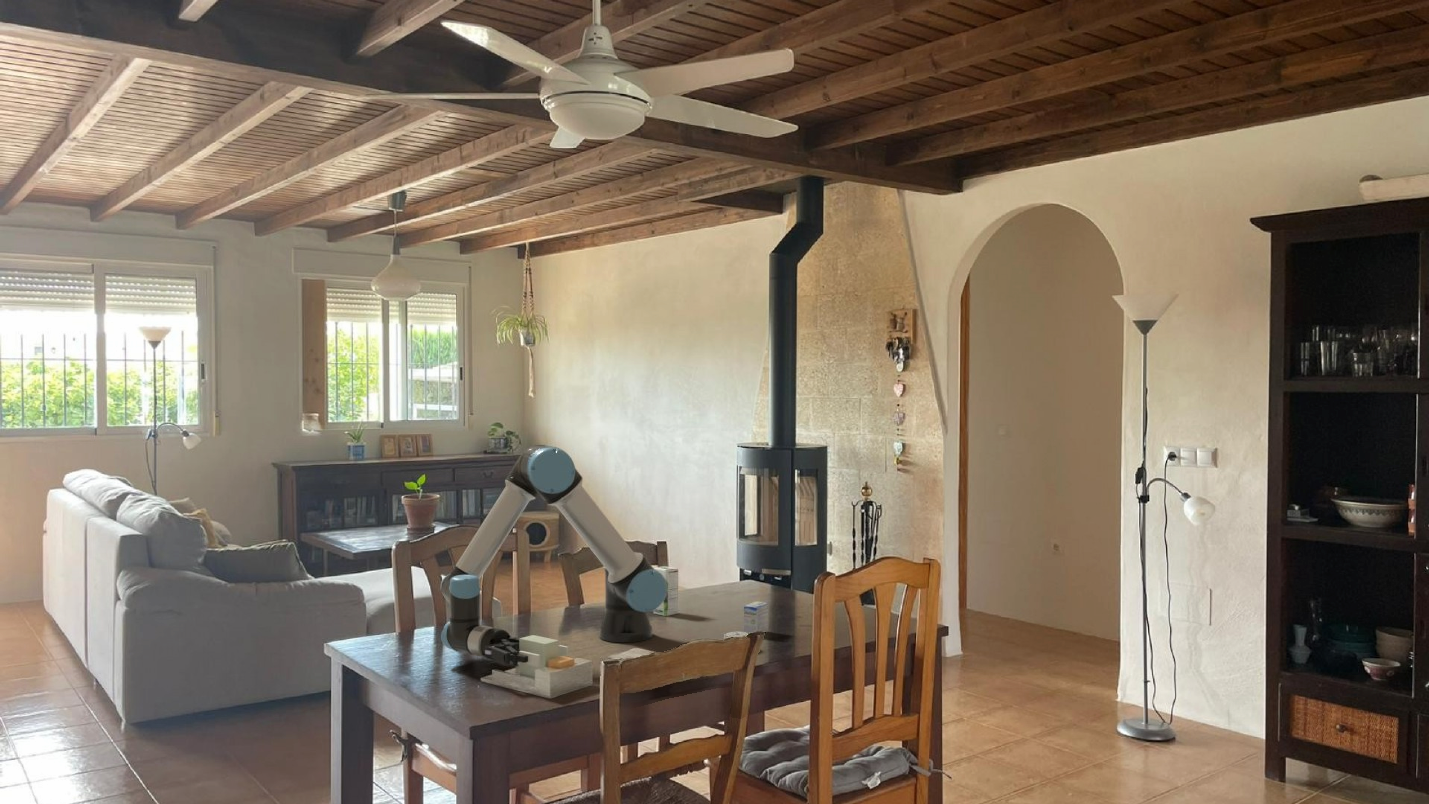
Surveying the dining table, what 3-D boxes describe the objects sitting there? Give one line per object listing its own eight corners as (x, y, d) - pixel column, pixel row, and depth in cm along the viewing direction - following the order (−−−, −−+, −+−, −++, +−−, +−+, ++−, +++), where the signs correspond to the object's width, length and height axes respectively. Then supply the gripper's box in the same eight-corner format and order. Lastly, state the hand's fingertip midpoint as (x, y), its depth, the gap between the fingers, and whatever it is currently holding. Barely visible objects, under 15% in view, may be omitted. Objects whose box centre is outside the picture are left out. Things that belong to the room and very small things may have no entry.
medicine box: (755, 630, 310) (755, 600, 310) (768, 632, 308) (768, 602, 308) (743, 636, 303) (743, 606, 303) (757, 637, 301) (757, 607, 301)
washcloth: (633, 656, 283) (633, 644, 283) (686, 666, 272) (686, 654, 272) (603, 666, 273) (603, 654, 273) (657, 677, 262) (657, 664, 262)
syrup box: (652, 613, 332) (652, 567, 332) (666, 611, 336) (666, 565, 336) (665, 616, 328) (665, 570, 328) (679, 613, 333) (679, 567, 332)
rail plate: (523, 668, 268) (523, 646, 268) (592, 684, 254) (592, 660, 254) (480, 681, 257) (480, 657, 257) (550, 698, 243) (550, 673, 243)
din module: (533, 675, 259) (533, 635, 259) (559, 681, 254) (558, 640, 254) (519, 679, 256) (519, 638, 256) (545, 686, 250) (544, 644, 250)
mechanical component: (757, 654, 283) (754, 645, 293) (757, 638, 283) (754, 629, 293) (720, 655, 282) (718, 646, 292) (720, 638, 282) (718, 630, 292)
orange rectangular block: (562, 680, 253) (562, 656, 253) (574, 683, 251) (574, 658, 251) (548, 685, 250) (548, 660, 250) (560, 688, 247) (560, 662, 247)
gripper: (522, 649, 274) (585, 662, 260) (456, 666, 257) (519, 682, 243) (522, 620, 274) (585, 632, 260) (456, 636, 257) (519, 650, 243)
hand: (553, 656), depth 252 cm, fingers open, 9 cm apart
